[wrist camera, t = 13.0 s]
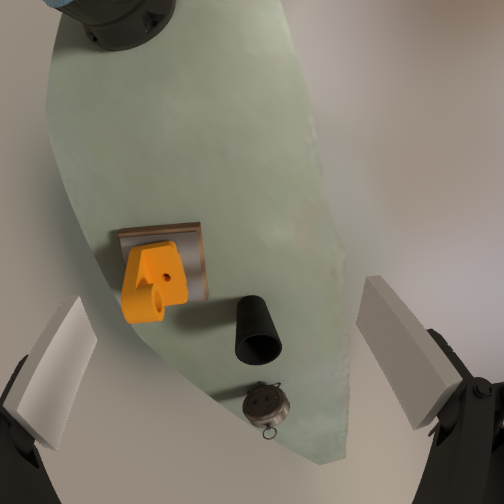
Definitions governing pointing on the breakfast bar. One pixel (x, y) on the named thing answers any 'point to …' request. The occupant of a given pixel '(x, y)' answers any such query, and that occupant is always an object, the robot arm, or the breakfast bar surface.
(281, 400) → the alarm clock
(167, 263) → the bracket
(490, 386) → the robot arm
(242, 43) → the breakfast bar surface
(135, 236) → the plinth
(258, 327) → the cup
